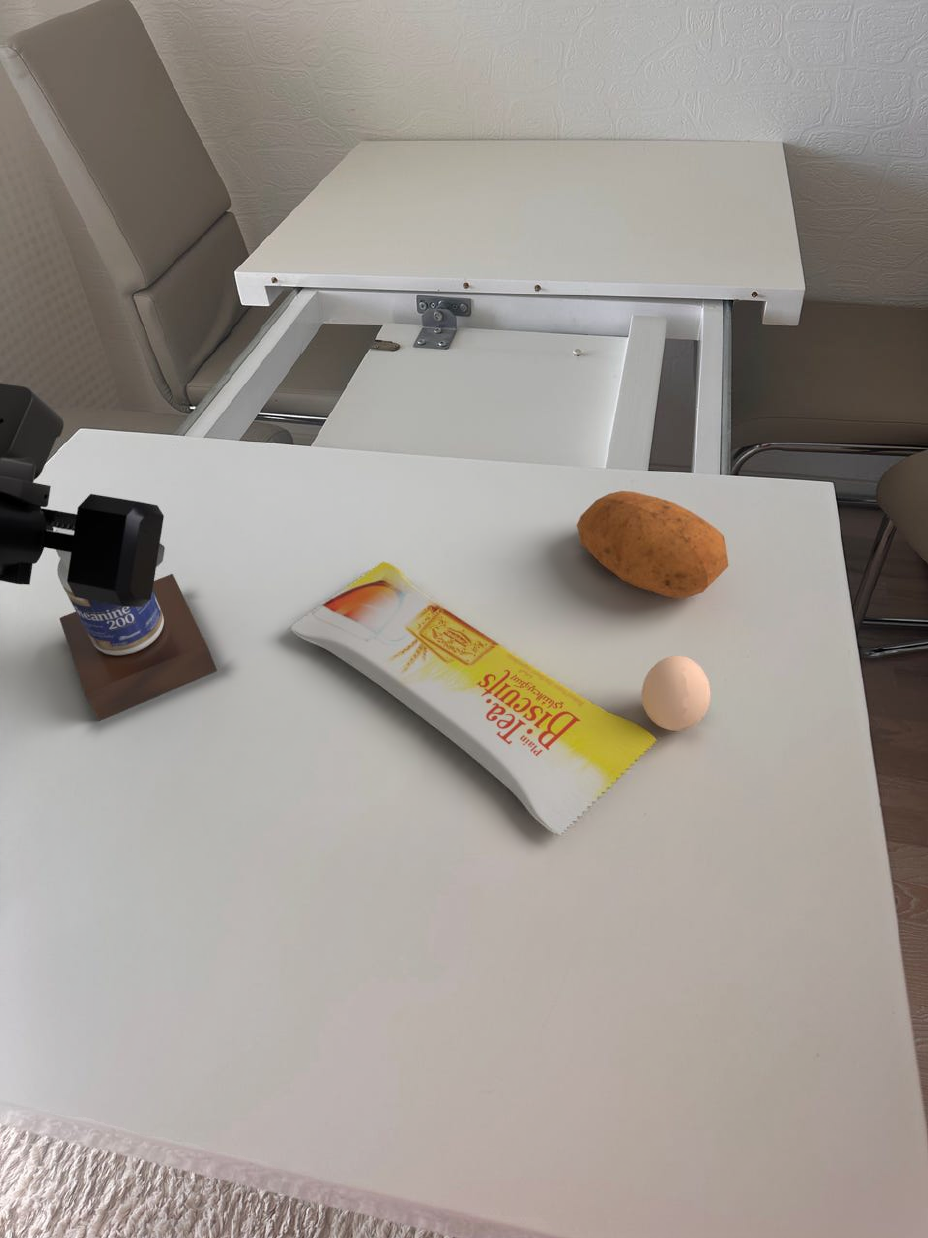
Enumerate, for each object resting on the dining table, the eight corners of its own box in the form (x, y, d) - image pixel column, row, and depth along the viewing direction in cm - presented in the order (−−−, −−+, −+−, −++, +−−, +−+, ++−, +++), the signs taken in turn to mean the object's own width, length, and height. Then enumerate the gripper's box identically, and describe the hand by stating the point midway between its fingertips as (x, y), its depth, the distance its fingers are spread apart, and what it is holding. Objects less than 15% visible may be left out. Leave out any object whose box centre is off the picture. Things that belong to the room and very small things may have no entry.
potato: (680, 637, 70) (672, 569, 65) (566, 561, 78) (551, 496, 73) (747, 583, 72) (745, 513, 67) (629, 515, 80) (619, 448, 75)
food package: (661, 728, 61) (559, 829, 57) (658, 749, 63) (559, 848, 59) (382, 548, 76) (283, 617, 71) (386, 569, 78) (290, 637, 73)
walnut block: (99, 721, 69) (84, 694, 67) (73, 644, 75) (58, 617, 72) (217, 670, 71) (206, 643, 69) (183, 600, 77) (172, 573, 75)
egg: (701, 693, 66) (710, 637, 62) (710, 745, 63) (719, 690, 59) (636, 694, 66) (641, 639, 62) (642, 746, 63) (647, 691, 59)
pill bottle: (82, 658, 69) (28, 559, 62) (107, 606, 73) (58, 507, 66) (153, 658, 69) (106, 558, 62) (174, 605, 72) (132, 505, 65)
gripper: (85, 391, 48) (241, 445, 63) (-191, 355, 53) (13, 413, 68) (53, 607, 49) (215, 610, 64) (-218, 551, 54) (-9, 565, 69)
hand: (105, 543), depth 66 cm, fingers open, 9 cm apart
